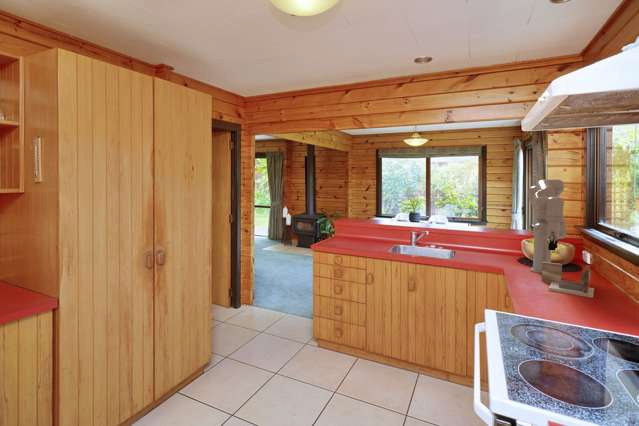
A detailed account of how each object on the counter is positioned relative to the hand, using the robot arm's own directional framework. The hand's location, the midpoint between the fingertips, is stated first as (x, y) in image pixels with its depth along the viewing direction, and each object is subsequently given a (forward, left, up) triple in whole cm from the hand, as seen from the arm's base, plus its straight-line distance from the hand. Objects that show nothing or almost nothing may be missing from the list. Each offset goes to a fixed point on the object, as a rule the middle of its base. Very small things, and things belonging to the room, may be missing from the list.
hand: (552, 249), depth 187 cm
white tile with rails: (+13, +10, -19) cm, 25 cm away
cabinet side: (+13, +15, -18) cm, 27 cm away
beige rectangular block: (0, 0, -19) cm, 19 cm away
